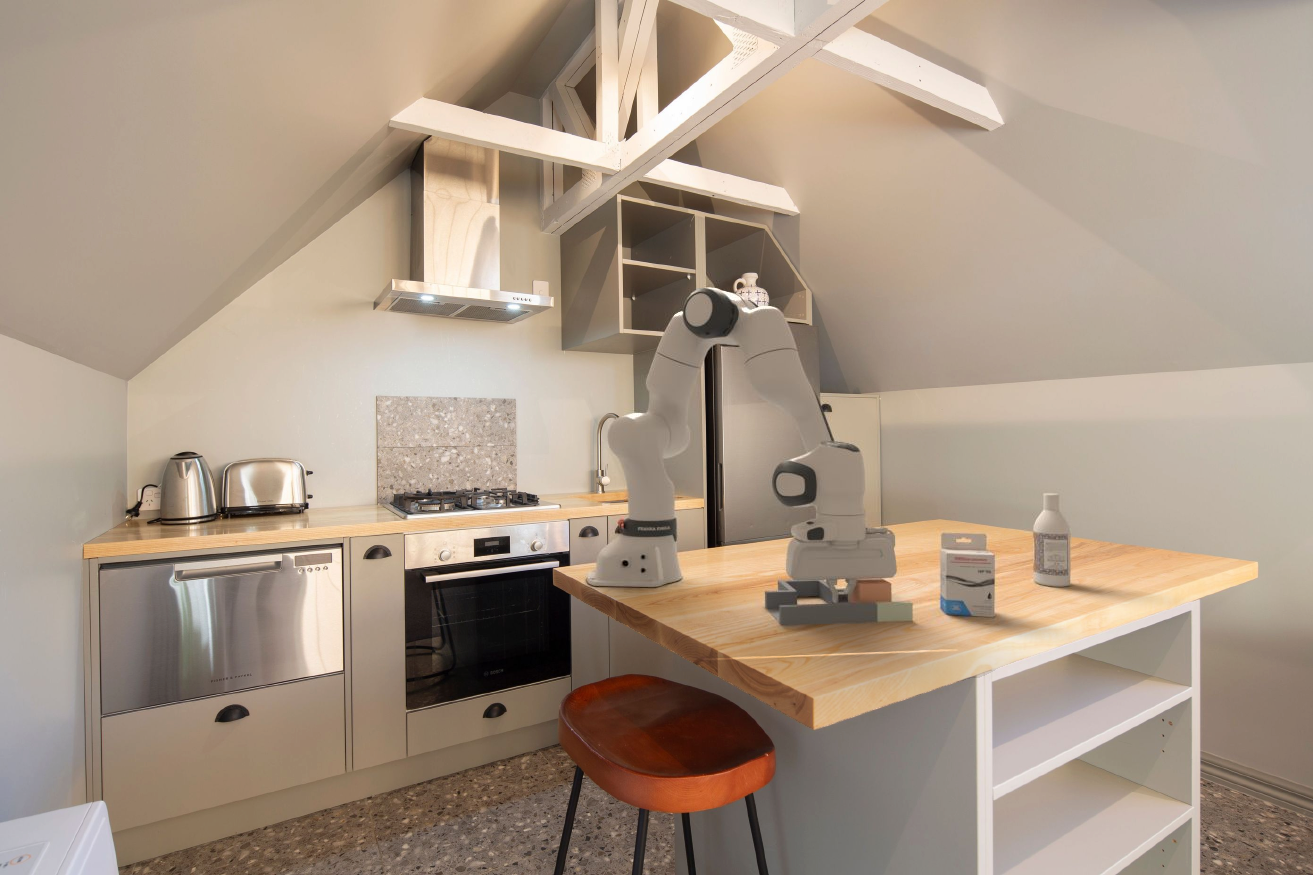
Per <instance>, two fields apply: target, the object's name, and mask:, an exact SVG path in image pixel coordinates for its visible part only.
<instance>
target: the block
mask: <svg viewBox="0 0 1313 875" xmlns="http://www.w3.org/2000/svg"><path fill="white" fill-rule="evenodd" d="M866 602H893V601H892V583H891V582H890V581H887V580H885V578H868V579H857V585H856V587H855V588H854V590H853V592H852V593H851V602H850V603H866Z"/></svg>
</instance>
